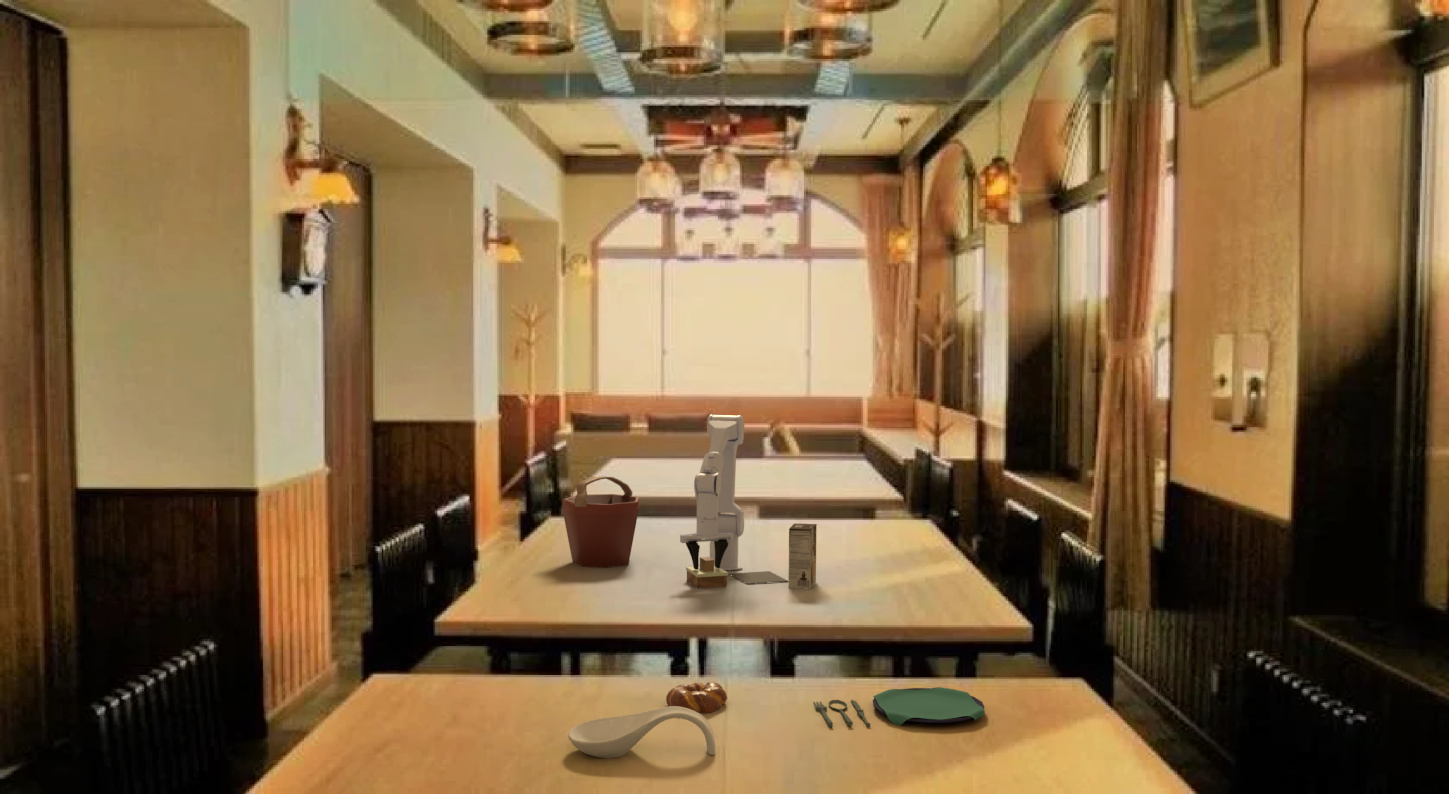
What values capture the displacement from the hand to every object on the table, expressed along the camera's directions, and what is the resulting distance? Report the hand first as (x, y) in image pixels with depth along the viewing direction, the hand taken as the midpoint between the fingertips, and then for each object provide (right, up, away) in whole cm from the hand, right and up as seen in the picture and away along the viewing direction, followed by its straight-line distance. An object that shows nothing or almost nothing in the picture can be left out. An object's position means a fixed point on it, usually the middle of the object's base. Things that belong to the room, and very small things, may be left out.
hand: (706, 568), depth 327 cm
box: (0, -4, 0) cm, 4 cm away
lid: (0, -1, 0) cm, 1 cm away
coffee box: (+26, -5, 0) cm, 26 cm away
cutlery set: (+36, -11, -108) cm, 115 cm away
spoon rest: (-9, -12, -130) cm, 131 cm away
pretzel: (0, -10, -105) cm, 106 cm away
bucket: (-31, -3, +29) cm, 43 cm away
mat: (+14, -4, +8) cm, 17 cm away
